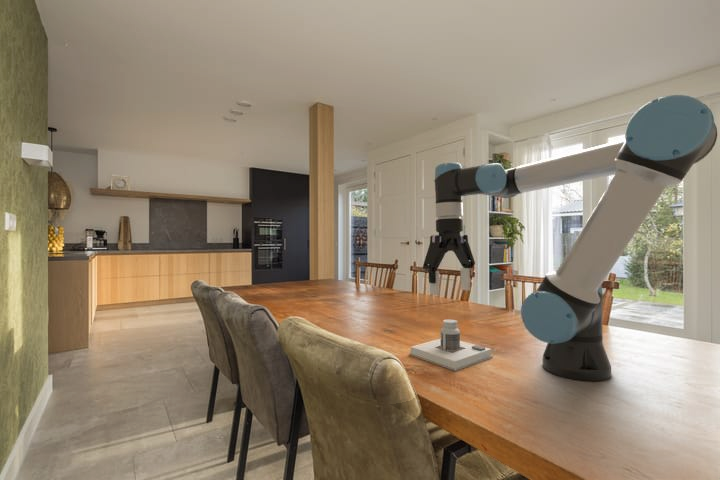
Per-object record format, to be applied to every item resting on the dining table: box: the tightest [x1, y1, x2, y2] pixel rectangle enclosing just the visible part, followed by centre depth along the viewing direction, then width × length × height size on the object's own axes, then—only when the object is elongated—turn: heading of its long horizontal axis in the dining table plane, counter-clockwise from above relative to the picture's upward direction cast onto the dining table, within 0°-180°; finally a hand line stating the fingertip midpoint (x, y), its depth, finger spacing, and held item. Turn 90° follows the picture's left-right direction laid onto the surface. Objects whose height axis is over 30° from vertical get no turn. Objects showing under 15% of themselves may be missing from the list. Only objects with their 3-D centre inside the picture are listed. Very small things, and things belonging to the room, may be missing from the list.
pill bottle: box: [440, 319, 461, 353], centre depth 105 cm, size 5×5×10 cm
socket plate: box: [408, 338, 493, 372], centre depth 105 cm, size 17×17×3 cm
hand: (450, 292), depth 105 cm, fingers open, 13 cm apart
